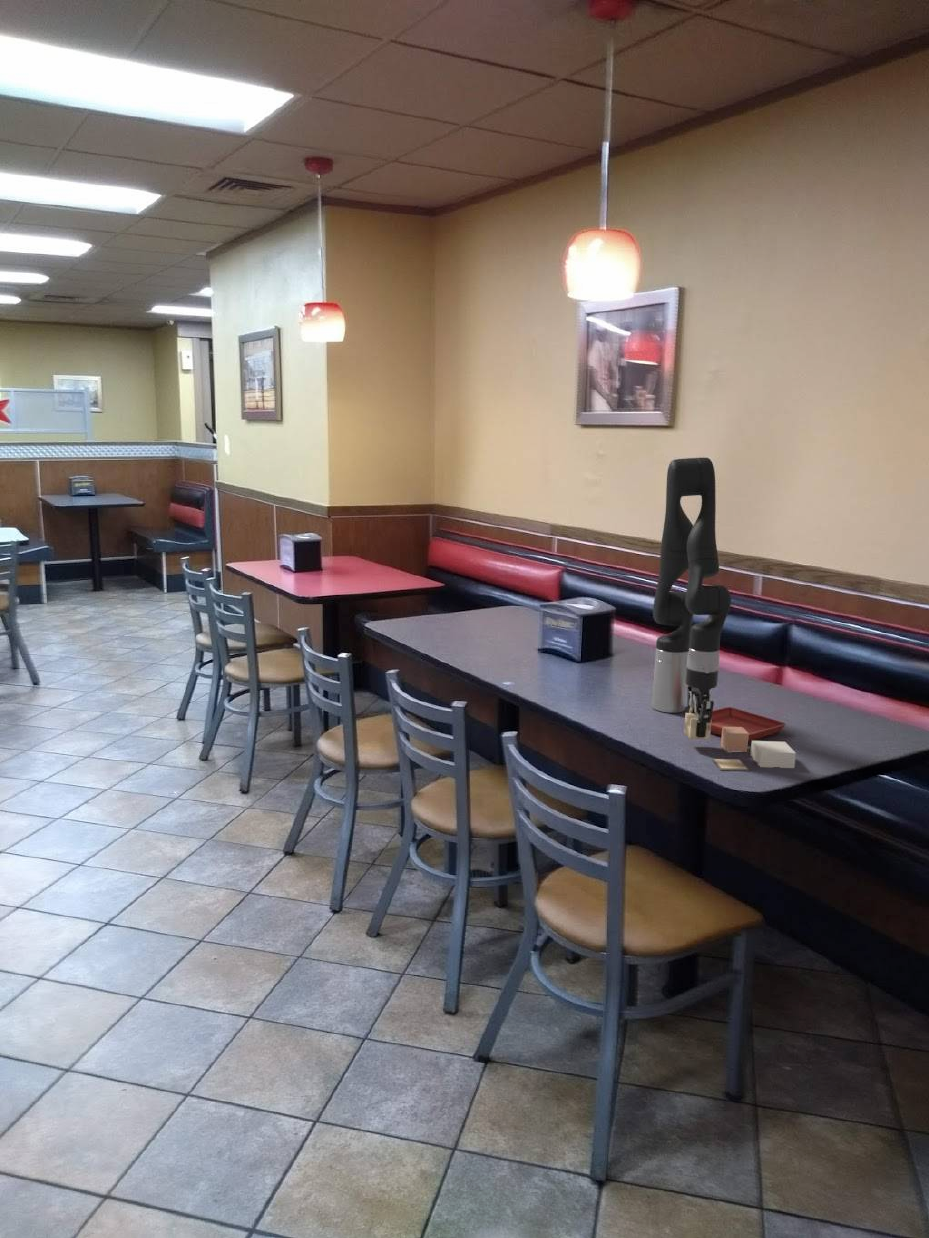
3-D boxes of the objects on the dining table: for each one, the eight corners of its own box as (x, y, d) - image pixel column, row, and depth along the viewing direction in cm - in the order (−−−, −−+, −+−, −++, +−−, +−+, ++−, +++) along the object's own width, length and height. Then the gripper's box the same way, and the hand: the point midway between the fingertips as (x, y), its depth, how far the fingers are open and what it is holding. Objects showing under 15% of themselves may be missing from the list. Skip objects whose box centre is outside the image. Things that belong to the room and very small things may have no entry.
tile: (711, 760, 219) (711, 758, 219) (739, 760, 220) (740, 758, 220) (720, 770, 213) (720, 768, 213) (749, 770, 213) (749, 769, 213)
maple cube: (684, 731, 230) (685, 712, 229) (703, 731, 230) (705, 712, 229) (689, 738, 225) (691, 719, 224) (710, 738, 225) (711, 719, 224)
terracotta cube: (720, 745, 230) (722, 726, 229) (740, 746, 230) (742, 727, 229) (726, 752, 225) (728, 733, 224) (746, 753, 225) (748, 733, 224)
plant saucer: (728, 717, 255) (729, 705, 254) (786, 734, 241) (787, 722, 240) (686, 728, 244) (687, 716, 243) (745, 748, 230) (746, 735, 229)
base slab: (750, 756, 224) (751, 740, 223) (783, 757, 224) (785, 741, 223) (759, 768, 216) (761, 751, 215) (794, 769, 216) (795, 753, 215)
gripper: (679, 658, 231) (674, 723, 234) (696, 674, 217) (690, 743, 220) (708, 658, 231) (703, 723, 235) (727, 674, 217) (721, 743, 221)
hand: (697, 732), depth 228 cm, fingers closed on maple cube, 5 cm apart
